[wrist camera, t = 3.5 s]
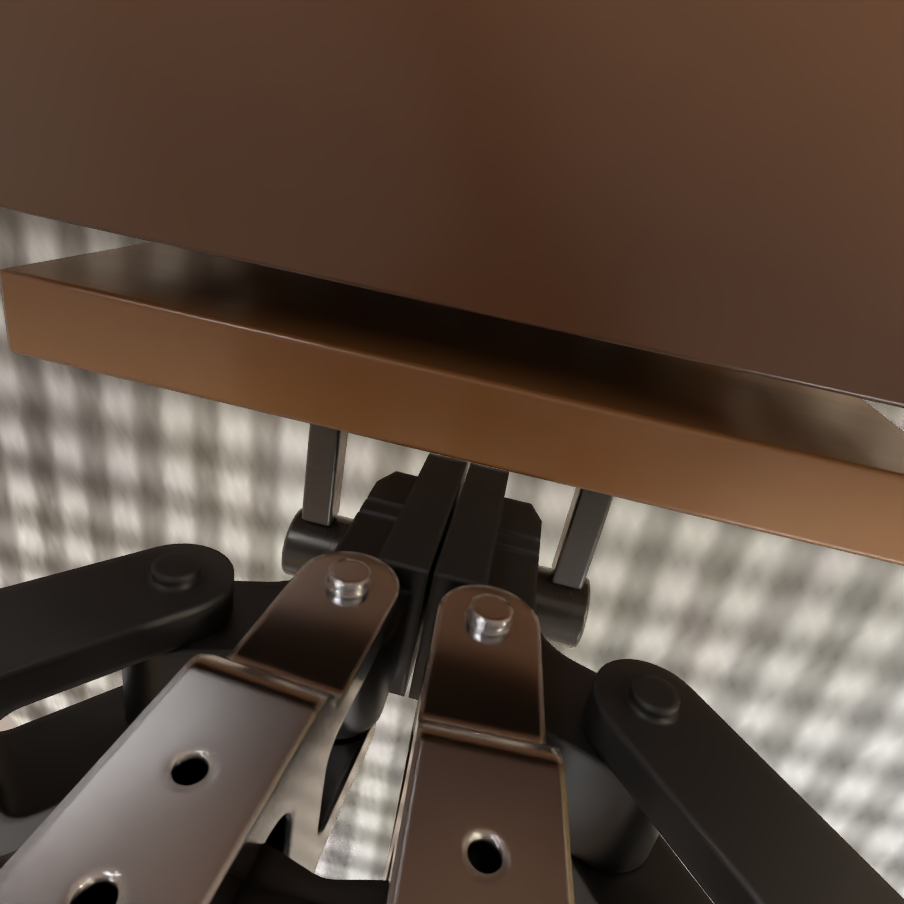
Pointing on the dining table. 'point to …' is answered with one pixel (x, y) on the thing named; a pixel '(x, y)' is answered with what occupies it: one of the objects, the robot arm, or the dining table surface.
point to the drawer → (472, 403)
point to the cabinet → (500, 159)
